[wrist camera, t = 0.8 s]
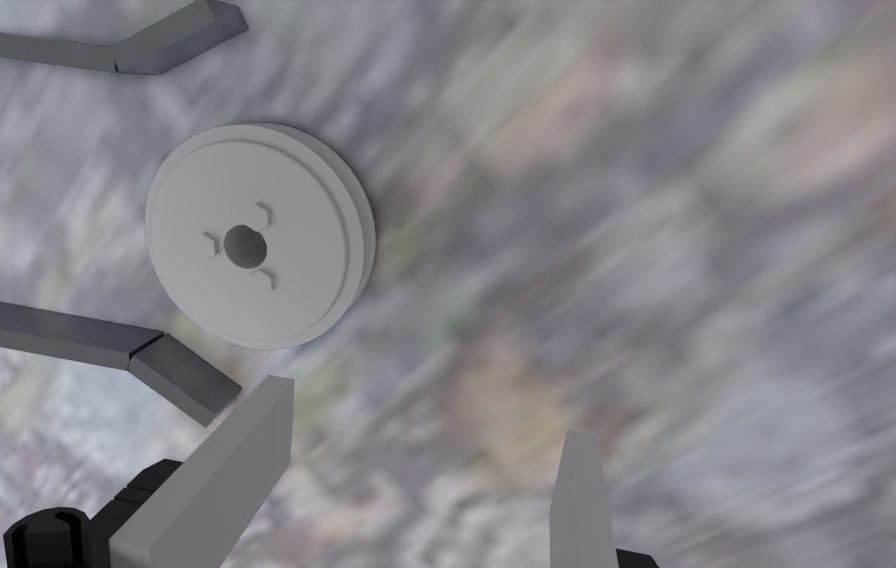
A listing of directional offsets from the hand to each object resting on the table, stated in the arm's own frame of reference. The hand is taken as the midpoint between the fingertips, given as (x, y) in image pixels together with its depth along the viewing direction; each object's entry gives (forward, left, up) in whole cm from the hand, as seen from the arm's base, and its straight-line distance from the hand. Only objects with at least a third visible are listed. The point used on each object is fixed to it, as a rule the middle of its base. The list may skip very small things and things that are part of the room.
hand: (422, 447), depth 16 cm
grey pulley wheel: (0, -12, -20) cm, 23 cm away
